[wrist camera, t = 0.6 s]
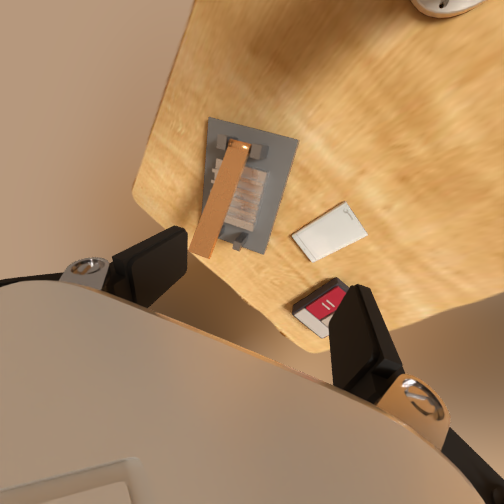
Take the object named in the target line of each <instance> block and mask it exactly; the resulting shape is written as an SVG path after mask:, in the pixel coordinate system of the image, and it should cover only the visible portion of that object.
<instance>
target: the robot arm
mask: <svg viewBox="0 0 504 504" xmlns="http://www.w3.org/2000/svg"><path fill="white" fill-rule="evenodd" d="M485 1H487V0H411V2H412V4H413V5H414V6H415V7H416V8H417V9H418V10H419V11H420V12H422V13H423V14H425V15H427V16H431V17H436V18H445V17H452V16H456V15H459V14H463V13H465V12H467V11H469V10H471V9H474V8H476V7H477V6H479V5H481V4H482V3H484V2H485ZM439 5H442V9H441V8H439ZM187 241H188V234H187V232H186V231H185V229H184V228H181V227H178V226H172V227H170V228H168V229H166V230H164V231H162V232H160V233H158V234H156V235H154V236H152V237H150V238H148V239H146V240H144V241H142V242H140V243H138V244H136V245H134V246H132V247H130V248H128V249H126V250H124V251H122V252H120V253H118V254H116V255H114V256H112V259H113V262H111V263H109V262H108V261H107V260H106V259H104V258H98V257H97V258H96V257H92V258H85V259H81V260H78V261H75V262H74V263H72V264H70V265H69V266H68V267H67V268H66V270H65V271H64V272H63V273H55V274H45V275H36V276H27V277H18V278H11V279H3V280H0V504H504V480H503V479H502V478H501V477H500V476H499V475H498V474H497V473H496V472H495V471H494V470H493V469H492V468H491V467H490V466H489V465H488V464H487V463H486V462H485V461H484V460H483V459H482V458H481V457H480V456H479V455H478V454H477V453H476V452H475V451H474V450H473V449H472V448H471V447H469V445H468V444H467V443H466V442H465V441H464V440H463V439H461V437H459V435H457V434H456V433H455V432H454V431H453V430H452V429H451V428H450V423H451V417H450V413H449V410H448V408H447V407H446V405H445V403H444V402H443V400H442V399H441V398H440V397H439V396H438V394H437V393H436V392H435V391H434V390H433V389H432V388H431V387H430V386H429V385H427V384H426V383H425V382H423V381H422V380H420V379H418V378H417V377H415V376H412V375H409V374H405V372H404V369H403V367H402V362H401V360H400V358H399V356H398V353H397V351H396V348H395V346H394V344H393V341H392V339H391V337H390V334H389V332H388V329H387V327H386V325H385V322H384V320H383V318H382V315H381V313H380V311H379V308H378V306H377V304H376V301H375V299H374V297H373V294H372V292H371V289H370V288H368V287H365V286H362V285H359V284H356V285H355V286H353V285H352V286H350V288H349V289H348V291H347V293H346V294H345V296H344V298H343V299H342V301H341V303H340V304H339V306H338V307H337V309H336V311H335V312H334V314H333V316H332V317H331V319H330V321H329V325H328V329H329V340H330V352H331V363H332V375H333V385H331V384H328V383H326V382H324V381H322V380H319V379H317V378H315V377H312V376H310V375H308V374H305V373H303V372H301V371H298V370H296V369H294V368H291V367H289V366H286V365H284V364H281V363H279V362H277V361H274V360H272V359H270V358H267V357H265V356H262V355H260V354H257V353H255V352H253V351H250V350H248V349H246V348H243V347H241V346H238V345H236V344H233V343H231V342H229V341H226V340H223V339H221V338H219V337H216V336H214V335H211V334H209V333H207V332H204V331H202V330H199V329H197V328H195V327H192V326H190V325H187V324H185V323H182V322H180V321H177V320H175V319H172V318H170V317H168V316H165V315H163V314H160V313H158V312H155V311H153V310H150V309H148V307H149V306H151V304H153V303H154V302H155V301H156V300H157V299H158V298H159V297H160V296H161V295H163V293H165V292H166V291H167V290H168V289H169V288H170V287H171V286H172V285H173V284H175V282H177V281H178V280H179V279H180V278H181V277H182V276H183V275H184V274H185V273H186V271H187Z"/></svg>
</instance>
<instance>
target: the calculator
mask: <svg viewBox="0 0 504 504" xmlns="http://www.w3.org/2000/svg"><path fill="white" fill-rule="evenodd" d="M348 289H349V287H348V286H347V285H345V284H344V283H343V282H342V281H341V280H340V279H339V278H337V277H336V278H334V279H332V280H331V281H329V282H328V283H326V284H325V285H323V286H322V287H320V288H319V289H317V290H316V291H314V292H313V293H311V294H310V295H309V296H307V297H306V298H304V299H302V300H300V301H299V302H297V303H296V304H294V305H293V311H292V315H293V316H294V317H296V318H297V319H298V320H299V321H300V322H302V323H303V324H304V325H305V326H307V327H308V328H309V329H310V330H311V331H313V332H314V333H315V334H316V335H318V336H319V337H320V338H325V337H327V336H329V329H328V325H329V321H330V319H331V317H332V316H333V314H334V312H335V311H336V309H337V307H338V306H339V304H340V303H341V301H342V299H343V298H344V296H345V294H346V293H347V291H348Z"/></svg>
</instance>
